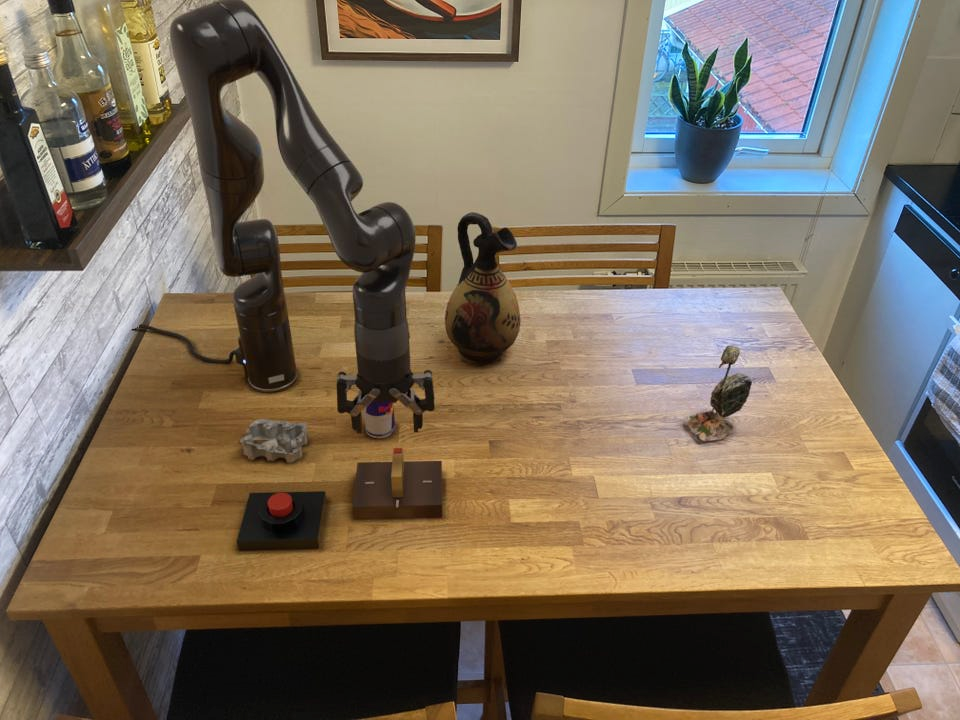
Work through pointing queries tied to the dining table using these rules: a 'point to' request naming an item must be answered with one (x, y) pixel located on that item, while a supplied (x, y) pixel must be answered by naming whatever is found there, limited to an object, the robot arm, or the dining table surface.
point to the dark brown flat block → (417, 491)
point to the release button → (280, 505)
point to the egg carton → (274, 440)
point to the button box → (283, 523)
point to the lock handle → (397, 472)
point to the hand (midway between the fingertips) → (388, 429)
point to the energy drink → (379, 419)
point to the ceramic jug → (482, 297)
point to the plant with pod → (722, 402)
